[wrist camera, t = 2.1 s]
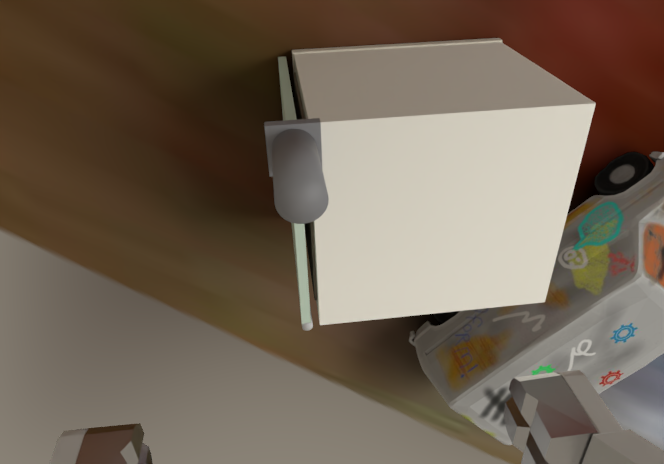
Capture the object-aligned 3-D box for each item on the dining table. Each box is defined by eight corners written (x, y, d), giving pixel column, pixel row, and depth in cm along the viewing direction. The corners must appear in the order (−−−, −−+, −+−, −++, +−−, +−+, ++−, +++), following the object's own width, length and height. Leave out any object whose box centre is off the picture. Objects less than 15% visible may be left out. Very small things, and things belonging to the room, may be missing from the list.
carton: (499, 37, 34) (598, 100, 24) (475, 201, 41) (546, 303, 31) (290, 49, 33) (305, 121, 23) (302, 216, 40) (317, 326, 30)
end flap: (300, 49, 33) (333, 169, 19) (310, 219, 40) (339, 399, 26) (261, 51, 33) (266, 174, 19) (278, 222, 40) (290, 405, 26)
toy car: (700, 211, 44) (802, 286, 36) (466, 373, 52) (506, 465, 44) (647, 129, 40) (751, 195, 31) (398, 321, 47) (428, 414, 39)
